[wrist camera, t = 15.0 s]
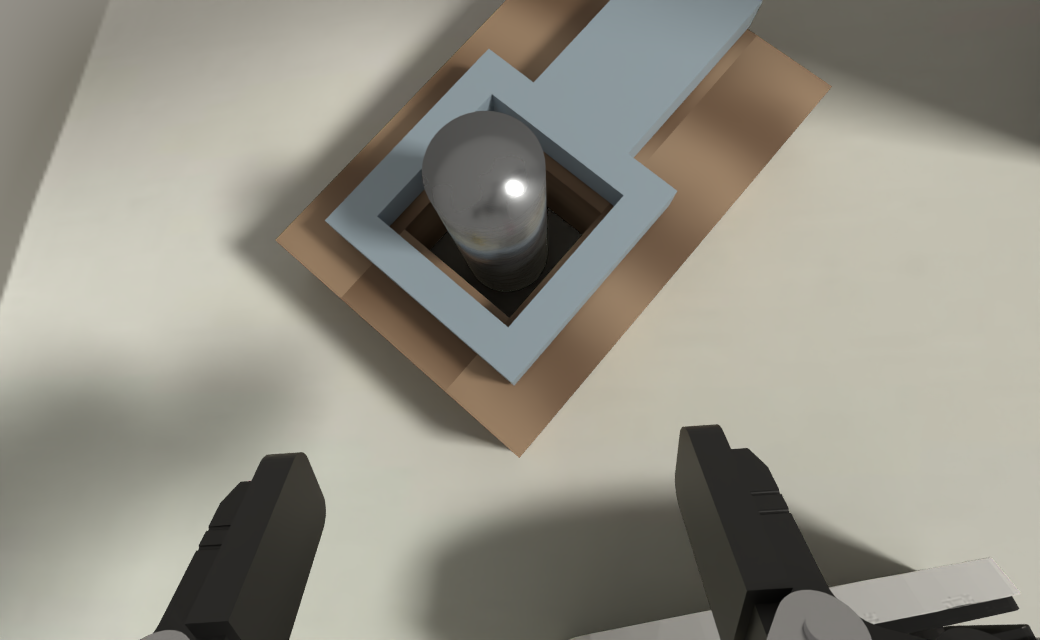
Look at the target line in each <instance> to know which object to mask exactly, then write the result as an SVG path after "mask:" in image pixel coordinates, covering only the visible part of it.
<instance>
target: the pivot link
mask: <svg viewBox="0 0 1040 640" xmlns="http://www.w3.org/2000/svg"><path fill="white" fill-rule="evenodd" d="M762 2H763V1H761V0H610V1H609V2H608V3H607V4H606V5H605V6H604V7H603V9H602V10H601V11H600V12H599V13H598V14H597V15H596V16H595V17H594V18H593V19H592V20H591V21H590V22H589V24H588V25H587V26H586V27H585V28H584V29H583V30H582V31H581V32H580V33H579V34H578V35H577V36H576V38H575V39H574V40H573V41H572V42H571V43H570V44H569V45H568V46H567V47H566V48H565V49H564V50H563V51H562V53H561V54H560V55H559V56H558V57H557V58H556V59H555V60H554V61H553V62H552V63H551V64H550V65H549V67H548V68H547V69H546V70H545V71H544V72H543V73H542V74H541V75H540V76H539V77H538V78H537V79H536V80H535V82H532V81H531V80H530V79H528V78H527V77H526V76H524V75H523V74H522V73H520V72H519V71H518V70H516V69H515V68H514V67H512V66H511V65H510V64H508V63H507V62H506V61H504V60H503V59H502V58H501V57H499V56H498V55H497V54H495V53H494V52H493V51H491V50H490V49H488V50H487V51H486V52H485V53H484V54H483V55H482V56H481V57H480V58H479V59H478V60H477V61H476V63H475V64H474V65H473V66H472V67H471V68H470V69H469V70H468V71H467V72H466V73H465V74H464V75H463V76H462V77H461V78H460V79H459V80H458V81H457V82H456V83H455V85H454V86H453V87H452V88H451V89H450V90H449V91H448V92H447V93H446V94H445V95H444V96H443V97H442V98H441V99H440V100H439V101H438V102H437V103H436V104H435V105H434V107H433V108H432V109H431V110H430V111H429V112H428V113H427V114H426V115H425V116H424V117H423V118H422V119H421V120H420V121H419V122H418V123H417V124H416V125H415V126H414V127H413V129H412V130H411V131H410V132H409V133H408V134H407V135H406V136H405V137H404V138H403V139H402V140H401V141H400V142H399V143H398V144H397V145H396V146H395V147H394V148H393V149H392V151H391V152H390V153H389V154H388V155H387V156H386V157H385V158H384V159H383V160H382V161H381V162H380V163H379V164H378V165H377V166H376V167H375V168H374V169H373V170H372V172H371V173H370V174H369V175H368V176H367V177H366V178H365V179H364V180H363V181H362V182H361V183H360V184H359V185H358V186H357V187H356V188H355V189H354V190H353V191H352V192H351V194H350V195H349V196H348V197H347V198H346V199H345V200H344V201H343V202H342V203H341V204H340V205H339V206H338V207H337V208H336V209H335V210H334V211H333V212H332V213H331V214H330V216H329V217H328V218H327V219H326V220H325V221H326V222H327V223H328V224H329V225H330V226H331V227H332V228H333V229H334V230H335V231H336V232H337V233H338V234H340V235H341V236H342V237H343V238H344V239H345V240H347V241H348V242H349V243H350V244H351V245H352V246H353V247H355V248H356V249H357V250H358V251H359V252H360V253H362V254H363V255H364V256H365V257H366V258H367V259H368V260H370V261H371V262H372V263H373V264H374V265H375V266H376V267H378V268H379V269H380V270H381V271H382V272H383V273H385V274H386V275H387V276H388V277H389V278H390V279H391V280H393V281H394V282H395V283H396V284H397V285H398V286H400V287H401V288H402V289H403V290H404V291H405V292H406V293H408V294H409V295H410V296H411V297H412V298H413V299H414V300H416V301H417V302H418V303H419V304H420V305H421V306H423V307H424V308H425V309H426V310H427V311H428V312H429V313H431V314H432V315H433V316H434V317H435V318H436V319H438V320H439V321H440V322H441V323H442V324H443V325H444V326H446V327H447V328H448V329H449V330H450V331H451V332H453V333H454V334H455V335H456V336H457V337H458V338H459V339H461V340H462V341H463V342H464V343H465V344H466V345H467V346H469V347H470V348H471V349H472V350H473V351H474V352H476V353H477V354H478V355H479V356H480V357H481V358H482V359H484V360H485V361H486V362H487V363H488V364H489V365H491V366H492V367H493V368H494V369H495V370H496V371H497V372H499V373H500V374H501V375H502V376H503V377H504V378H506V379H507V380H508V381H509V382H510V383H511V384H512V385H515V384H516V383H517V382H518V381H519V380H520V378H521V377H522V376H523V375H524V374H525V373H526V371H527V370H528V369H529V368H530V367H531V366H532V364H533V363H534V362H535V361H536V360H537V359H538V357H539V356H540V355H541V354H542V353H543V352H544V350H545V349H546V348H547V347H548V346H549V345H550V343H551V342H552V341H553V340H554V339H555V338H556V336H557V335H558V334H559V333H560V332H561V331H562V329H563V328H564V327H565V326H566V325H567V324H568V323H569V321H570V320H571V319H572V318H573V317H574V316H575V314H576V313H577V312H578V311H579V310H580V309H581V307H582V306H583V305H584V304H585V303H586V302H587V300H588V299H589V298H590V297H591V296H592V295H593V293H594V292H595V291H596V290H597V289H598V288H599V286H600V285H601V284H602V283H603V282H604V281H605V279H606V278H607V277H608V276H609V275H610V274H611V273H612V271H613V270H614V269H615V268H616V267H617V266H618V264H619V263H620V262H621V261H622V260H623V259H624V257H625V256H626V255H627V254H628V253H629V252H630V250H631V249H632V248H633V247H634V246H635V245H636V243H637V242H638V241H639V240H640V239H641V238H642V236H643V235H644V234H645V233H646V232H647V231H648V229H649V228H650V227H651V226H652V225H653V224H654V222H655V221H656V220H657V219H658V218H659V217H660V216H661V214H662V213H663V212H664V211H665V210H666V209H667V207H668V206H669V205H670V203H671V201H672V200H673V198H674V196H675V194H676V193H677V190H675V189H674V188H673V187H672V186H670V185H669V184H668V183H666V182H665V181H664V180H662V179H661V178H660V177H658V176H657V175H656V174H654V173H653V172H652V171H650V170H649V169H648V168H646V167H645V166H644V165H642V164H641V163H640V162H638V161H637V160H636V159H634V157H635V156H636V155H637V153H638V152H639V151H640V150H641V149H642V148H643V147H644V146H645V144H646V143H647V142H648V141H649V140H650V139H651V138H652V136H653V135H654V134H655V133H656V132H657V131H658V130H659V129H660V127H661V126H662V125H663V124H664V123H665V122H666V121H667V119H668V118H669V117H670V116H671V115H672V114H673V113H674V111H675V110H676V109H677V108H678V107H679V106H680V105H681V104H682V102H683V101H684V100H685V99H686V98H687V97H688V96H689V94H690V93H691V92H692V91H693V90H694V89H695V88H696V87H697V85H698V84H699V83H700V82H701V81H702V80H703V79H704V77H705V76H706V75H707V74H708V73H709V72H710V71H711V70H712V68H713V67H714V66H715V65H716V64H717V63H718V62H719V60H720V59H721V58H722V57H723V56H724V55H725V54H726V53H727V51H728V50H729V49H730V48H731V47H732V46H733V45H734V43H735V42H736V41H737V40H738V39H739V38H740V37H741V36H742V34H743V33H744V32H745V31H746V30H747V29H748V28H749V26H750V25H751V23H752V21H753V19H754V17H755V15H756V13H757V11H758V9H759V7H760V5H761V3H762ZM476 111H495V112H500V113H504V114H507V115H510V116H512V117H514V118H516V119H518V120H519V121H521V122H522V123H524V124H525V125H526V126H527V127H528V128H529V129H530V130H531V131H532V132H533V133H534V135H535V136H536V137H537V139H538V141H539V143H540V145H541V147H542V150H543V151H544V152H545V153H546V154H548V155H549V156H550V157H551V158H553V159H554V160H555V161H557V162H558V163H559V164H560V165H562V166H563V167H564V168H566V169H567V170H568V171H569V172H571V173H572V174H573V175H575V176H576V177H577V178H578V179H580V180H581V181H582V182H584V183H585V184H586V185H587V186H589V187H590V188H591V189H593V190H594V191H595V192H597V193H598V194H599V195H600V196H602V197H603V198H604V199H606V200H607V201H608V202H609V203H611V204H612V205H613V206H614V207H613V208H612V209H611V211H610V212H609V213H608V214H607V215H606V216H605V217H604V219H603V220H602V221H601V222H600V223H599V224H598V225H597V227H596V228H595V229H594V230H593V231H592V232H591V233H590V235H589V236H588V237H587V238H586V239H585V240H584V241H583V243H582V244H581V245H580V246H579V247H578V248H577V249H576V251H575V252H574V253H573V254H572V255H571V256H570V257H569V259H568V260H567V261H566V262H565V263H564V264H563V265H562V267H561V268H560V269H559V270H558V271H557V272H556V273H555V275H554V276H553V277H552V278H551V279H550V280H549V281H548V283H547V284H546V285H545V286H544V287H543V288H542V289H541V291H540V292H539V293H538V294H537V295H536V296H535V297H534V299H533V300H532V301H531V302H530V303H529V304H528V305H527V307H526V308H525V309H524V310H523V311H522V312H521V313H520V315H519V316H518V317H517V318H516V319H515V320H514V321H513V323H512V324H511V325H510V326H509V327H507V326H506V325H505V324H503V323H502V322H501V321H500V320H499V319H498V318H496V317H495V316H494V315H493V314H492V313H490V312H489V311H488V310H487V309H486V308H485V307H483V306H482V305H481V304H480V303H479V302H478V301H476V300H475V299H474V298H473V297H472V296H470V295H469V294H468V293H467V292H466V291H465V290H463V289H462V288H461V287H460V286H459V285H457V284H456V283H455V282H454V281H453V280H452V279H450V278H449V277H448V276H447V275H446V274H445V273H443V272H442V271H441V270H440V269H439V268H437V267H436V266H435V265H434V264H433V263H432V262H430V261H429V260H428V259H427V258H426V257H424V256H423V255H422V254H421V253H420V252H419V251H417V250H416V249H415V248H414V247H413V246H412V245H410V244H409V243H408V242H407V241H406V240H404V239H403V238H402V237H401V236H400V235H399V234H397V233H396V232H395V231H394V230H393V229H392V228H390V227H389V226H390V225H391V224H392V223H393V222H394V221H395V220H396V219H397V218H398V217H399V216H400V215H401V214H402V213H403V211H404V210H405V209H406V208H407V207H408V206H409V205H410V204H411V203H412V202H413V201H414V200H415V199H416V198H417V196H418V195H419V194H420V193H421V192H422V191H423V190H424V189H425V188H424V185H423V180H422V164H423V159H424V155H425V152H426V149H427V147H428V145H429V143H430V141H431V140H432V139H433V137H434V136H435V134H436V133H437V132H438V131H439V130H440V129H441V128H442V127H443V126H445V125H446V124H447V123H449V122H450V121H452V120H453V119H455V118H457V117H459V116H462V115H464V114H467V113H471V112H476Z"/></svg>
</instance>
